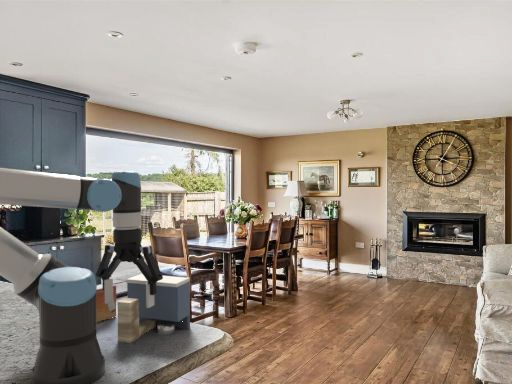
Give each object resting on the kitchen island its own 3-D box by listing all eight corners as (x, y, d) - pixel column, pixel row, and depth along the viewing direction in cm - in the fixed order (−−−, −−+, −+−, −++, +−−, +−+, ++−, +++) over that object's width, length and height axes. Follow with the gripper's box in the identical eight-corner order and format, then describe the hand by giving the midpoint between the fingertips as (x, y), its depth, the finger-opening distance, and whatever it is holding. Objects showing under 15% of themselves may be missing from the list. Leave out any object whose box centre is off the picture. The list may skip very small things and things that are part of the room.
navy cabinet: (177, 336, 116) (176, 283, 116) (126, 329, 122) (125, 279, 121) (190, 327, 123) (189, 277, 123) (141, 321, 129) (141, 273, 129)
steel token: (169, 336, 117) (169, 328, 117) (153, 334, 118) (153, 326, 118) (178, 330, 122) (178, 322, 121) (163, 328, 123) (163, 320, 123)
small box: (94, 324, 127) (93, 290, 127) (84, 320, 130) (84, 287, 130) (117, 317, 133) (116, 284, 133) (107, 314, 137) (106, 282, 136)
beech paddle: (130, 343, 111) (129, 303, 111) (117, 341, 113) (117, 301, 112) (157, 327, 124) (156, 291, 123) (145, 325, 125) (145, 289, 125)
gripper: (174, 227, 113) (175, 304, 113) (100, 225, 121) (101, 296, 122) (159, 230, 105) (160, 312, 106) (81, 228, 114) (83, 304, 114)
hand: (129, 304), depth 114 cm, fingers open, 13 cm apart
